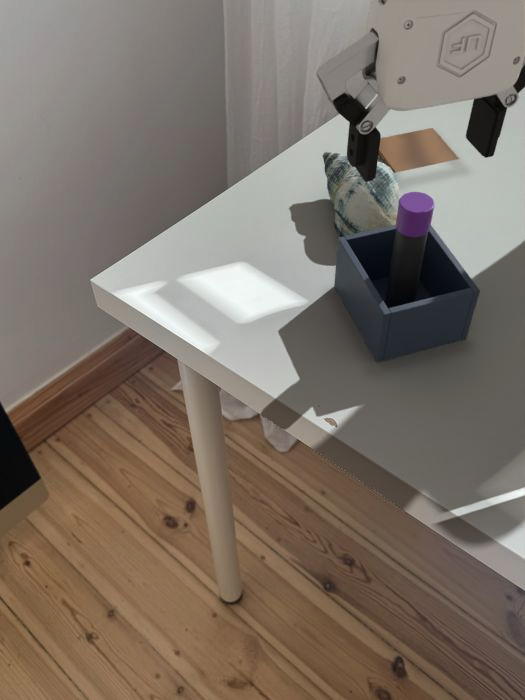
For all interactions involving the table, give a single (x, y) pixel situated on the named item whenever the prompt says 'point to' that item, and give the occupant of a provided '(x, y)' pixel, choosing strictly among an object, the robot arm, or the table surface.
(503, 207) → the table surface
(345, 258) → the bin
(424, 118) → the table surface
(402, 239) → the marker
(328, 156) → the seashell
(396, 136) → the coaster
